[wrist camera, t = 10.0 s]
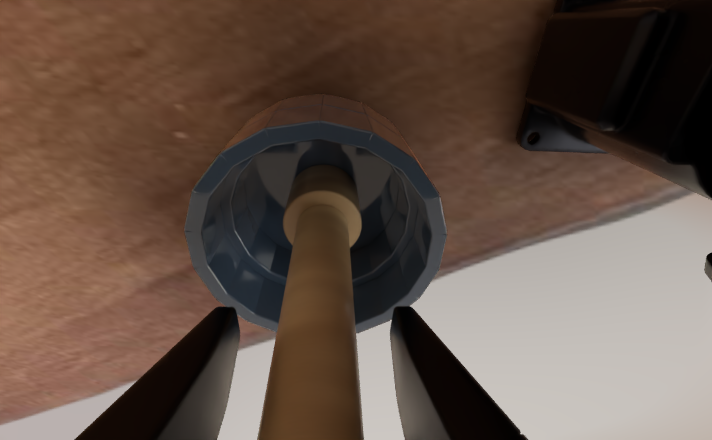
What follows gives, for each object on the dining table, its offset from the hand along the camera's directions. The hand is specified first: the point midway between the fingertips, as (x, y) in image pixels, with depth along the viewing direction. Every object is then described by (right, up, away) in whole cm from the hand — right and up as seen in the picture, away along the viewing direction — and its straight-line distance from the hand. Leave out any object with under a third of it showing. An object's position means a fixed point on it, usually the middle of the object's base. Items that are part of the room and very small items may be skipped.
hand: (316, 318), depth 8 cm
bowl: (0, +4, +6) cm, 7 cm away
